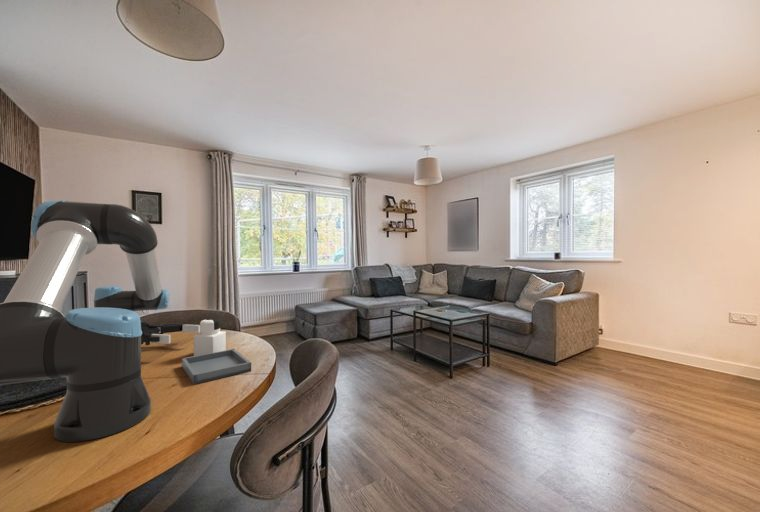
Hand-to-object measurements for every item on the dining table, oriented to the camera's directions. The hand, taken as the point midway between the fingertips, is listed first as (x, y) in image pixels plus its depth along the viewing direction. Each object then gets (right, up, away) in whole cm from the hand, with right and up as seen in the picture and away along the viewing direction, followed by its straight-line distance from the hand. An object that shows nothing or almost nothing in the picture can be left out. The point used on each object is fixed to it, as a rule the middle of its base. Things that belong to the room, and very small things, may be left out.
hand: (185, 333), depth 109 cm
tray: (+18, -7, -15) cm, 24 cm away
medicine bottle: (+9, -7, -1) cm, 12 cm away
